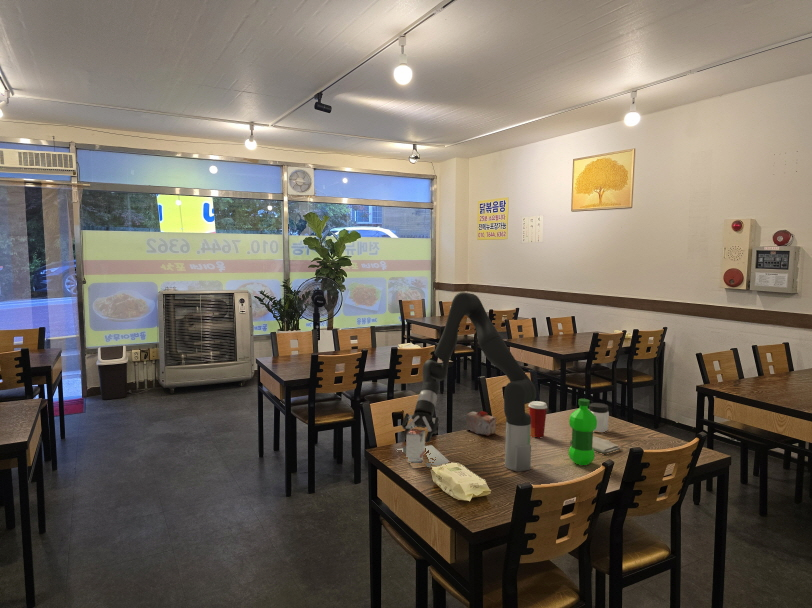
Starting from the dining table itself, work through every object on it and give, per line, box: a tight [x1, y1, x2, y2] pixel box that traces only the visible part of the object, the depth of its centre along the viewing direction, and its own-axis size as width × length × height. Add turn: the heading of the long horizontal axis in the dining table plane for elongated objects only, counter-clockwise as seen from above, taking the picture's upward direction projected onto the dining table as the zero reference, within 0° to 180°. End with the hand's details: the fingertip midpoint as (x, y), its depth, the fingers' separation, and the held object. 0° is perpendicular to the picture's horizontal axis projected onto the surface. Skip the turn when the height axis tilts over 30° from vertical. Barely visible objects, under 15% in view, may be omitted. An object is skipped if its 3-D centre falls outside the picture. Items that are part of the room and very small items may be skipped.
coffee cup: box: [528, 400, 548, 439], centre depth 238 cm, size 8×8×15 cm
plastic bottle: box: [568, 398, 597, 466], centre depth 206 cm, size 10×10×25 cm
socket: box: [405, 428, 426, 459], centre depth 206 cm, size 6×6×10 cm
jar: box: [588, 402, 610, 433], centre depth 248 cm, size 9×8×12 cm
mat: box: [396, 444, 451, 468], centre depth 211 cm, size 22×16×1 cm
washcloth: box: [569, 435, 621, 454], centre depth 226 cm, size 12×18×3 cm, turn 35°
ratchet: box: [402, 446, 423, 463], centre depth 209 cm, size 14×6×7 cm, turn 19°
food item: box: [465, 410, 498, 436], centre depth 242 cm, size 14×8×10 cm, turn 50°
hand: (416, 440), depth 206 cm, fingers open, 8 cm apart
